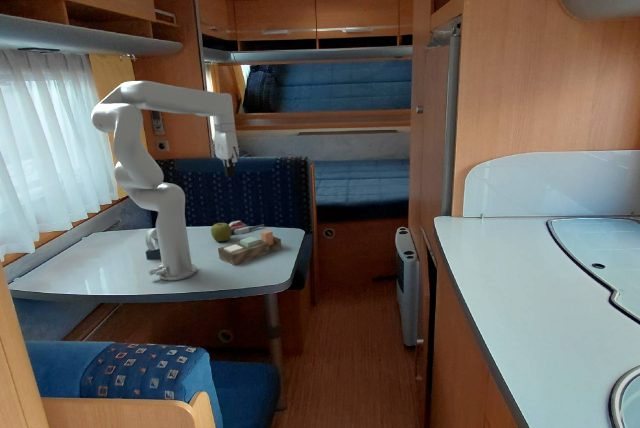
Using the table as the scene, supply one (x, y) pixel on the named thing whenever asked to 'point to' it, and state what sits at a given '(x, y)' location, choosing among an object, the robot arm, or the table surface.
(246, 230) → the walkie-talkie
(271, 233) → the slider
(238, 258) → the brown wooden tray
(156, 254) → the white sculpture
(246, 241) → the button
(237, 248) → the button
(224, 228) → the apple
